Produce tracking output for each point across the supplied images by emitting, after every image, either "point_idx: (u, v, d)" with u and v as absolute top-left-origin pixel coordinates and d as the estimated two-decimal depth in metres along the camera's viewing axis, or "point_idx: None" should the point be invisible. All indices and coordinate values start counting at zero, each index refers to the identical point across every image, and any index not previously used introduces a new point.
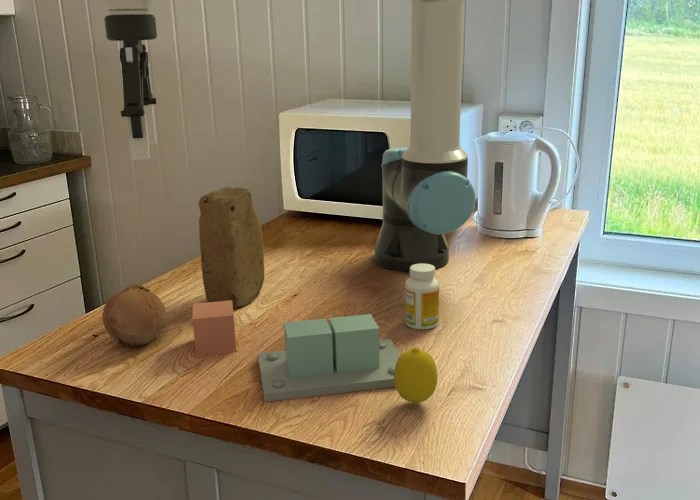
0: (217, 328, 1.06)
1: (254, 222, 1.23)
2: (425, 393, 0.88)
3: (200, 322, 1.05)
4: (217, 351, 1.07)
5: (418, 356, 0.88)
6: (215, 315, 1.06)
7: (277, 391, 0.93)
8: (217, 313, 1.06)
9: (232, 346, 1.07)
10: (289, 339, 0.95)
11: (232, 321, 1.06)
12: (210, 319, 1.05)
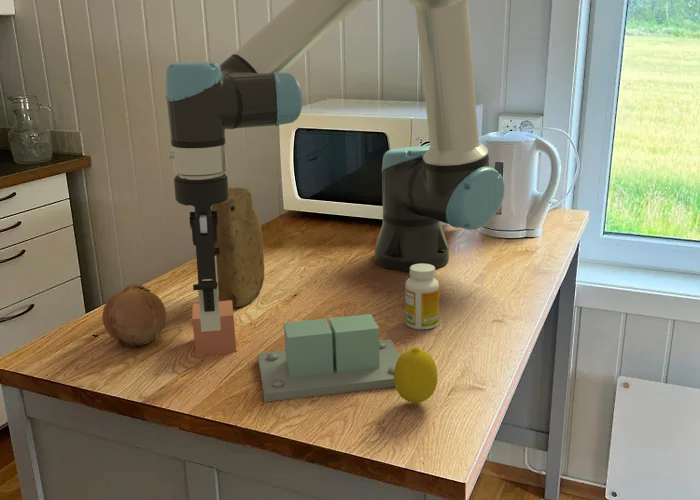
0: None
1: (254, 222, 1.23)
2: (425, 393, 0.88)
3: (200, 322, 1.05)
4: (217, 351, 1.07)
5: (418, 356, 0.88)
6: None
7: (277, 391, 0.93)
8: None
9: (232, 346, 1.07)
10: (289, 339, 0.95)
11: (232, 321, 1.06)
12: None
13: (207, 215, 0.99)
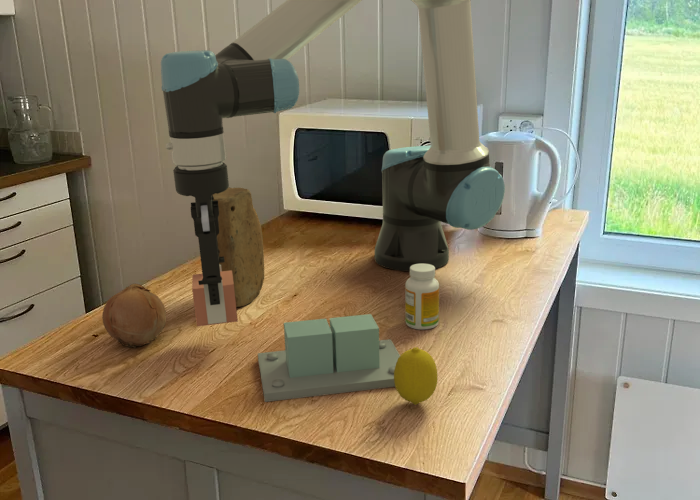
0: None
1: (254, 222, 1.23)
2: (425, 393, 0.88)
3: (200, 292, 1.04)
4: None
5: (418, 356, 0.88)
6: None
7: (277, 391, 0.93)
8: None
9: (233, 316, 1.06)
10: (289, 339, 0.95)
11: (232, 290, 1.05)
12: None
13: (208, 208, 0.99)
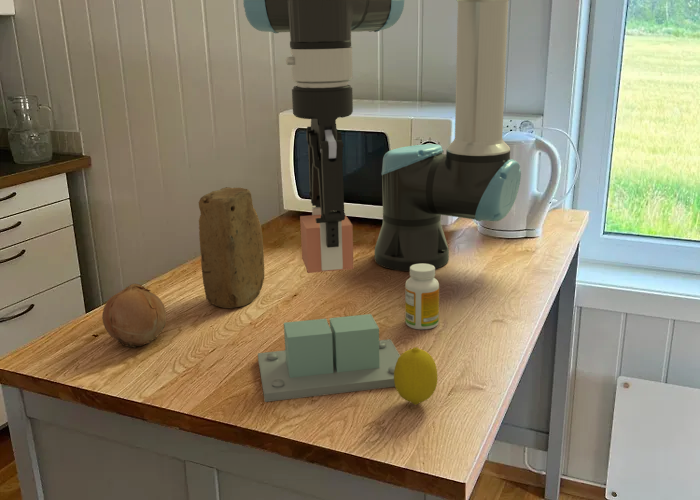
0: None
1: (254, 222, 1.23)
2: (425, 393, 0.88)
3: (315, 233, 0.90)
4: None
5: (418, 356, 0.88)
6: None
7: (277, 391, 0.93)
8: None
9: (349, 262, 0.93)
10: (289, 339, 0.95)
11: (350, 232, 0.91)
12: None
13: (333, 133, 0.86)
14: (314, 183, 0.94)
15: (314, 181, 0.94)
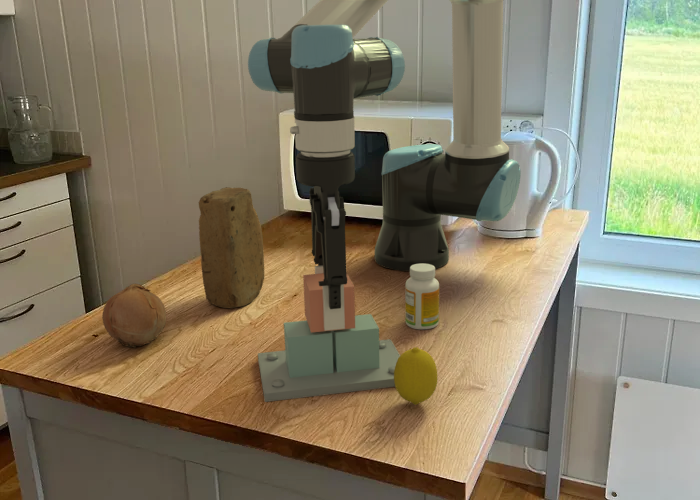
0: None
1: (254, 222, 1.23)
2: (425, 393, 0.88)
3: (318, 294, 0.93)
4: None
5: (418, 356, 0.88)
6: None
7: (277, 391, 0.93)
8: None
9: (351, 321, 0.95)
10: (289, 339, 0.95)
11: (352, 293, 0.94)
12: None
13: (336, 201, 0.88)
14: (317, 243, 0.97)
15: (317, 242, 0.97)
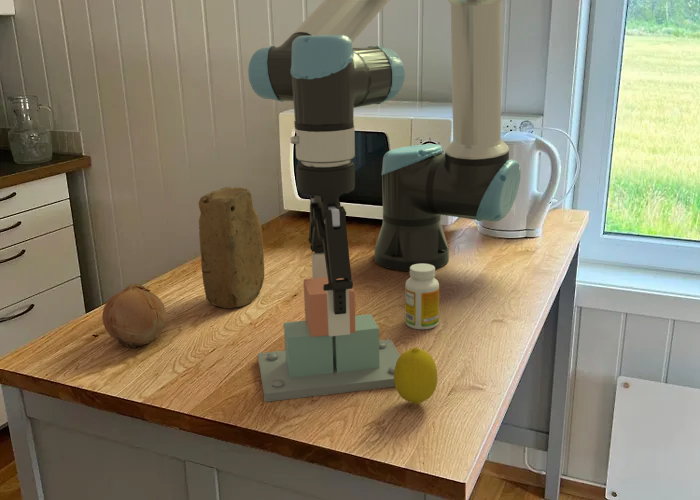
0: None
1: (254, 222, 1.23)
2: (425, 393, 0.88)
3: (318, 299, 0.93)
4: None
5: (418, 356, 0.88)
6: None
7: (277, 391, 0.93)
8: None
9: (351, 326, 0.95)
10: (289, 339, 0.95)
11: (352, 298, 0.94)
12: None
13: (336, 206, 0.89)
14: (314, 239, 0.99)
15: (315, 238, 0.99)
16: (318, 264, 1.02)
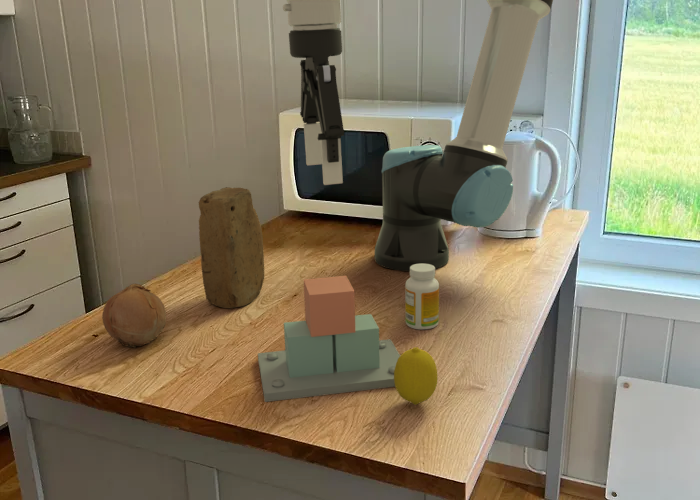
0: (336, 305, 0.94)
1: (254, 222, 1.23)
2: (425, 393, 0.88)
3: (318, 299, 0.93)
4: (334, 332, 0.95)
5: (418, 356, 0.88)
6: (334, 291, 0.94)
7: (277, 391, 0.93)
8: (334, 288, 0.95)
9: (351, 326, 0.95)
10: (289, 339, 0.95)
11: (352, 298, 0.94)
12: (328, 295, 0.93)
13: (326, 66, 0.99)
14: (306, 108, 1.10)
15: (306, 107, 1.09)
16: (310, 133, 1.12)
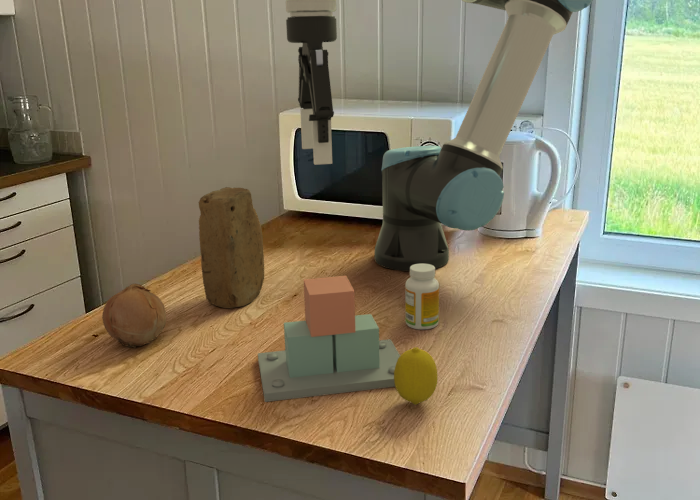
0: (336, 305, 0.94)
1: (254, 222, 1.23)
2: (425, 393, 0.88)
3: (318, 299, 0.93)
4: (334, 332, 0.95)
5: (418, 356, 0.88)
6: (334, 291, 0.94)
7: (277, 391, 0.93)
8: (334, 288, 0.95)
9: (351, 326, 0.95)
10: (289, 339, 0.95)
11: (352, 298, 0.94)
12: (328, 295, 0.93)
13: None
14: (303, 93, 1.15)
15: (303, 92, 1.14)
16: (306, 118, 1.17)
